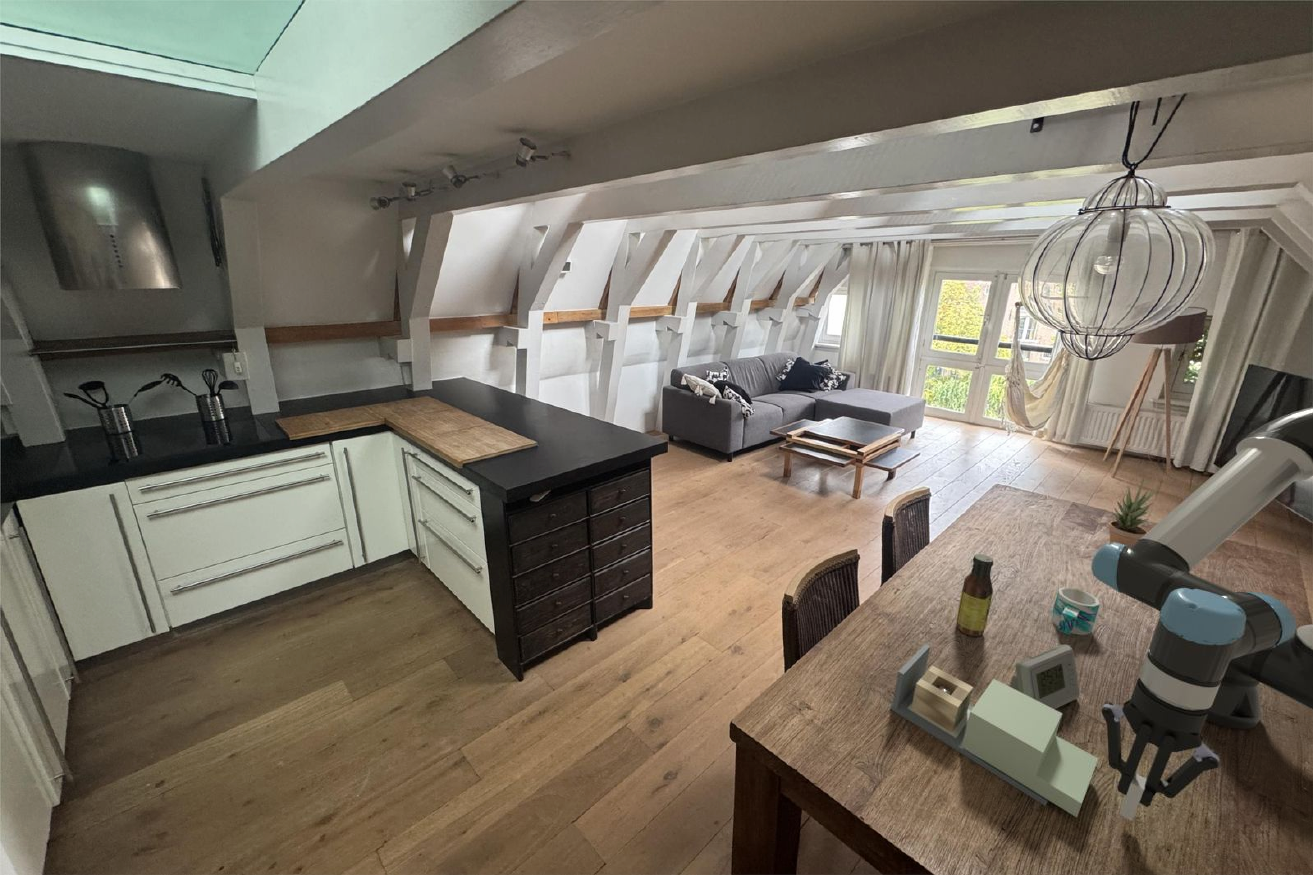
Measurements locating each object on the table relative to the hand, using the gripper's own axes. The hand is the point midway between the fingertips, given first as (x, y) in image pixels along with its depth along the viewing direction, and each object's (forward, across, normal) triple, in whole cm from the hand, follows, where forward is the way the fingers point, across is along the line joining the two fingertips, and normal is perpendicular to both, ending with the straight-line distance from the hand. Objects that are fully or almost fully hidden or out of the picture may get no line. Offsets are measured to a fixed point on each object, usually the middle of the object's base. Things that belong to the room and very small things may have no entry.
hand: (1127, 812), depth 80 cm
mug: (+3, +18, -54) cm, 56 cm away
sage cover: (+1, +13, 0) cm, 13 cm away
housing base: (+2, +22, 0) cm, 22 cm away
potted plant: (+3, +16, -119) cm, 120 cm away
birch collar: (+1, +28, 0) cm, 28 cm away
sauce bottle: (+3, +34, -34) cm, 48 cm away
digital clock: (+3, +15, -20) cm, 25 cm away
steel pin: (+2, +28, 0) cm, 28 cm away
